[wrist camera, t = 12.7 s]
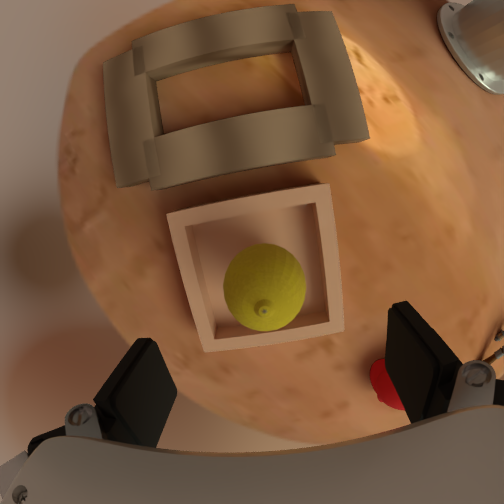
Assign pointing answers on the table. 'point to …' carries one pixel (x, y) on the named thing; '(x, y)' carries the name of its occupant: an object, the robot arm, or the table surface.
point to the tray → (250, 233)
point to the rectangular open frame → (240, 127)
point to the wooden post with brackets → (499, 352)
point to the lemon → (264, 287)
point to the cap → (384, 385)
